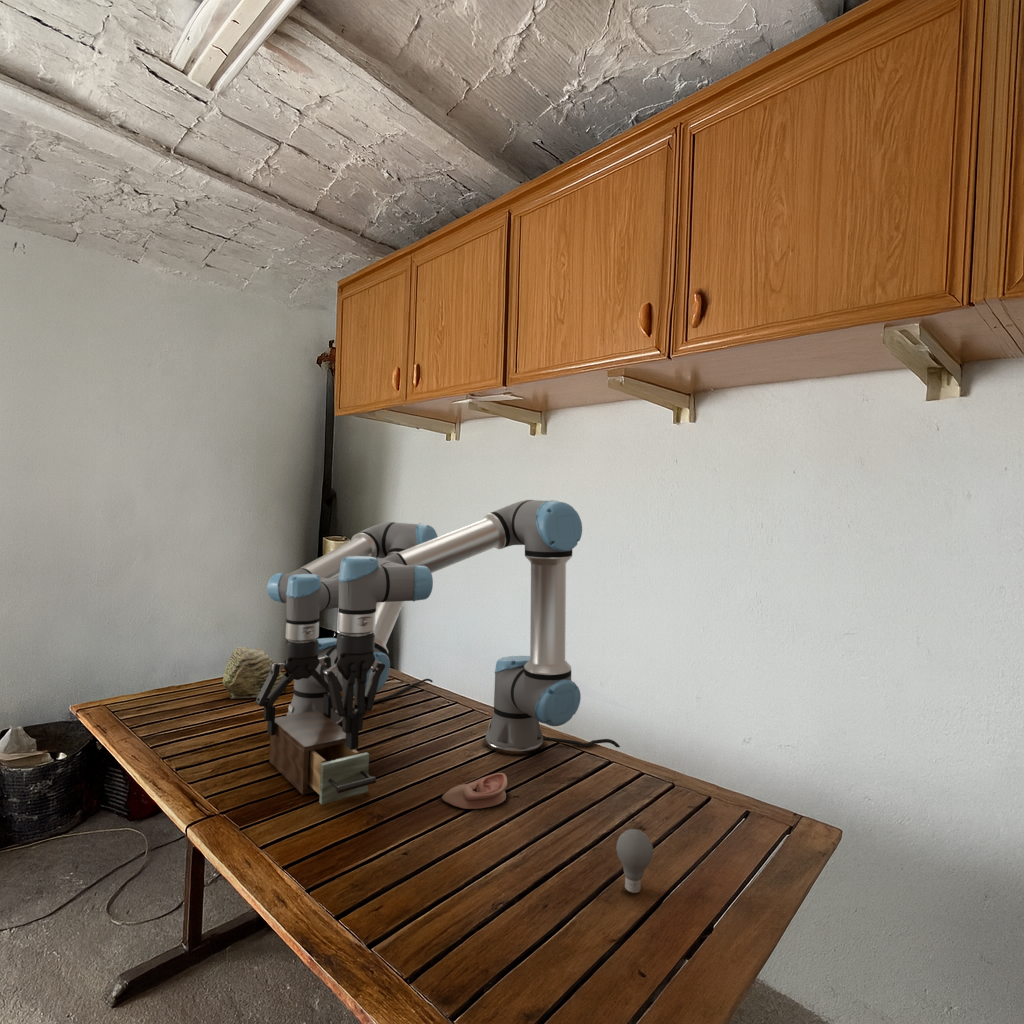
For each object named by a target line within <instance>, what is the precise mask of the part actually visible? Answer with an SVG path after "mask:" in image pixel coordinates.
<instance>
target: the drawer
mask: <svg viewBox="0 0 1024 1024" xmlns="http://www.w3.org/2000/svg"><path fill="white" fill-rule="evenodd" d="M369 769H370V753H368V752H367V751H366V752H362V753H360V752H359V751H358V750H357V749H354V750H350V749H349V748H348V747H346V746H345V743H342V744H338V745H333V746H329V747H324V748H320V749H315V750H311V751H309V765H308V785H309V786H311V787H312V788H313V789H314V790H315V791H316V792H315V793H317V794H318V795H319V801H318V803H319V804H320V805H321V806H323V805H327V804H330V803H334V802H337V801H340V800H341V801H342V800H344V799H347V798H351V797H354V796H358V795H361V794H364V793H368V792H369V786H370V785H373V784H376V783H377V778H376V776H371V775H370V774H369Z"/></svg>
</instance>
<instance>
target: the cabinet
mask: <svg viewBox="0 0 1024 1024" xmlns="http://www.w3.org/2000/svg"><path fill="white" fill-rule="evenodd" d="M342 743H346V733H345V732H343V730H342V725H338V724H336V723H335V722H333V721H332V720H331V719H329V718H328V717H326V716H325V715H324V714H322V713H321V712H319V711H318V710H315V711H310V712H304V713H299V714H294V715H288V716H286V715H284V716H279V717H275V735H272V736H271V735H270V734H269V758H268V761H269V762H270V764H271V765H272V766H273V767H274V768H275V769H276V770H277V771H278V773H280V774H281V775H282V776H283V777H284V778H285V779H286V780H287V781H288V782H289V783H290V784H291V785H292V786H293V787H294V788H295V789H296V790H297V791H298V792H299V793H300V794H301V795H302V796H304V795H308V794H311V793H317V792H316V791H315V790H314V789H313V788H312V787H311V786H309V785H308V765H309V751H311V750H315V749H320V748H324V747H329V746H333V745H338V744H342Z"/></svg>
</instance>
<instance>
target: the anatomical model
mask: <svg viewBox="0 0 1024 1024" xmlns="http://www.w3.org/2000/svg"><path fill="white" fill-rule="evenodd" d="M507 786H508V778H507V775H506V774H505V773H503V772H496V773H492V774H488V775H485V776H484V777H481V778H478V779H476V780H474V781H471V782H468V783H462V784H459V785H455V786H454V787H452V788H450V789H449V790H447V791H446V792H445V793H444V794H443V795H442V796H441V799H442V801H443V802H445V803H446V804H449V805H450V806H454V807H456V808H460V809H464V810H476V809H485V808H490V807H495V806H498V805H500V804H502V803H504V802H505V801H506V799H507V794H506V789H507Z"/></svg>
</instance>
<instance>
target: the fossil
mask: <svg viewBox="0 0 1024 1024" xmlns="http://www.w3.org/2000/svg"><path fill="white" fill-rule="evenodd" d="M273 662H275V661H274V660H273V659H272V658H271V657H270V656H269V655H268V654H267V653H266V652H265V650H264V649H263V648H260V647H258V648H251V647H247V646H246V647H245V646H238V647H237V648H236V649H235V650H233V651H232V653H231V656H230V657H229V659H228V660H227V663H226V666H225V668H224V671H223V675H222V676H223V677H222V685H223V687H224V688H225V690H226V691H228V693H229V698H230V699H250V698H257V697H258V695H259V693H260V691H261V689H262V687H263V685H264V683H265V681H266V679H267V677H268V675H269V673H270V668H271V663H273ZM282 676H283V673H282V671H281V672H280V673H279V675H278V677H277V679H276V681H275V683H274V685H273V687H272V689H271V691H272V690H273V689H274V688H275V686H276V685H277V684H278V682H279V681H280V680H281V678H282ZM286 689H287V687H286V688H285V690H284V691H283V692H282V694H284V693H285V691H286ZM271 691H270V693H271Z"/></svg>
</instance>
